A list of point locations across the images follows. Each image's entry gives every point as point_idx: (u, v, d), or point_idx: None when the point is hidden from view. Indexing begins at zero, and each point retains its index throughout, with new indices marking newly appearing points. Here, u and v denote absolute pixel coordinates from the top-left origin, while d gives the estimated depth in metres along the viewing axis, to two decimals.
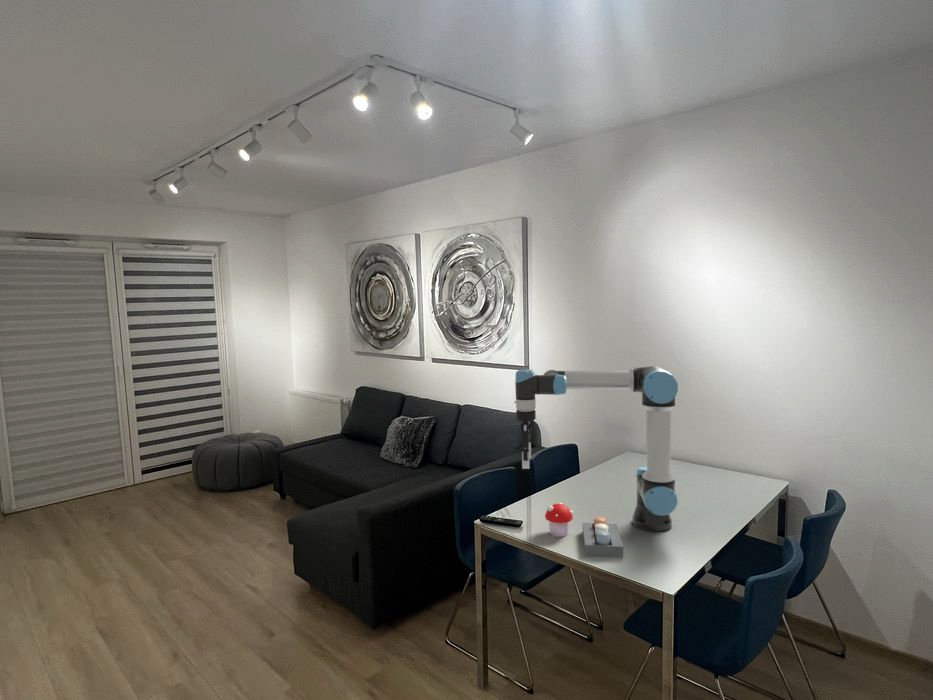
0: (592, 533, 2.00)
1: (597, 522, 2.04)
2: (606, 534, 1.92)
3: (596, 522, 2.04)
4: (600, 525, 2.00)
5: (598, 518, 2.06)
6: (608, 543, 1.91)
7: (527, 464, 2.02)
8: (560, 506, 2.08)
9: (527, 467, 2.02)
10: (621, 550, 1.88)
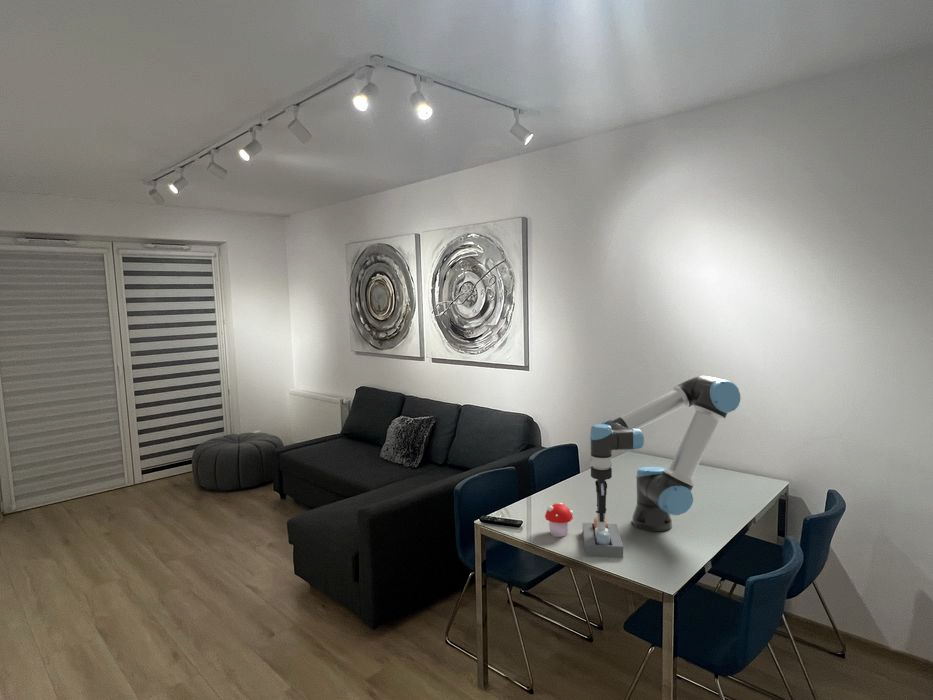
0: (592, 533, 2.00)
1: None
2: (606, 534, 1.92)
3: (596, 522, 2.04)
4: None
5: None
6: (608, 543, 1.91)
7: (603, 525, 1.98)
8: (560, 506, 2.08)
9: (603, 528, 1.98)
10: (621, 550, 1.88)
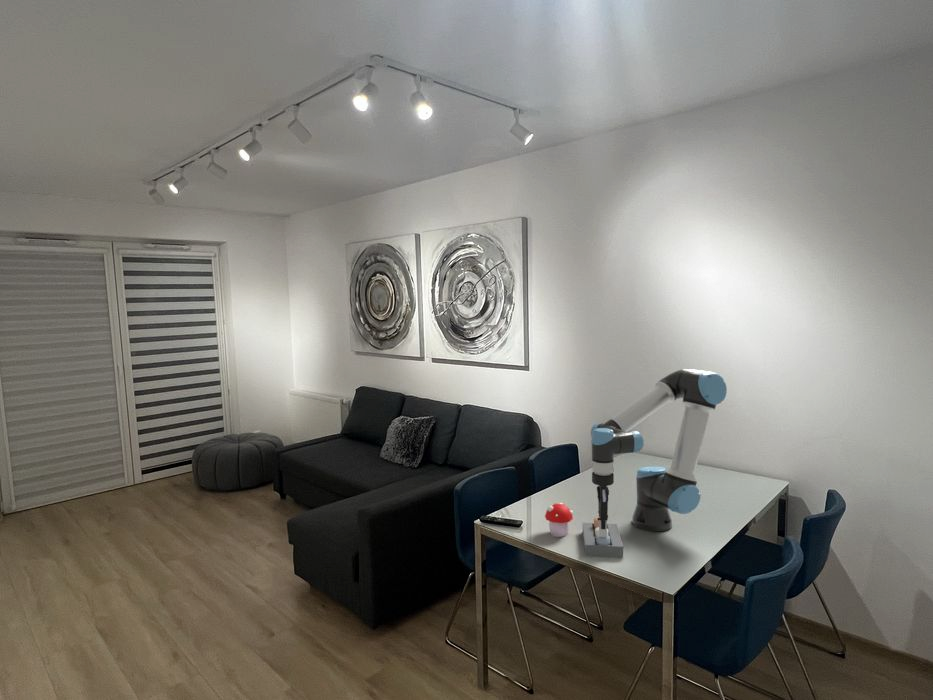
0: (592, 533, 2.00)
1: (597, 522, 2.04)
2: (606, 538, 1.92)
3: (596, 522, 2.04)
4: None
5: None
6: None
7: (605, 532, 1.92)
8: (560, 506, 2.08)
9: (604, 536, 1.92)
10: (621, 550, 1.88)
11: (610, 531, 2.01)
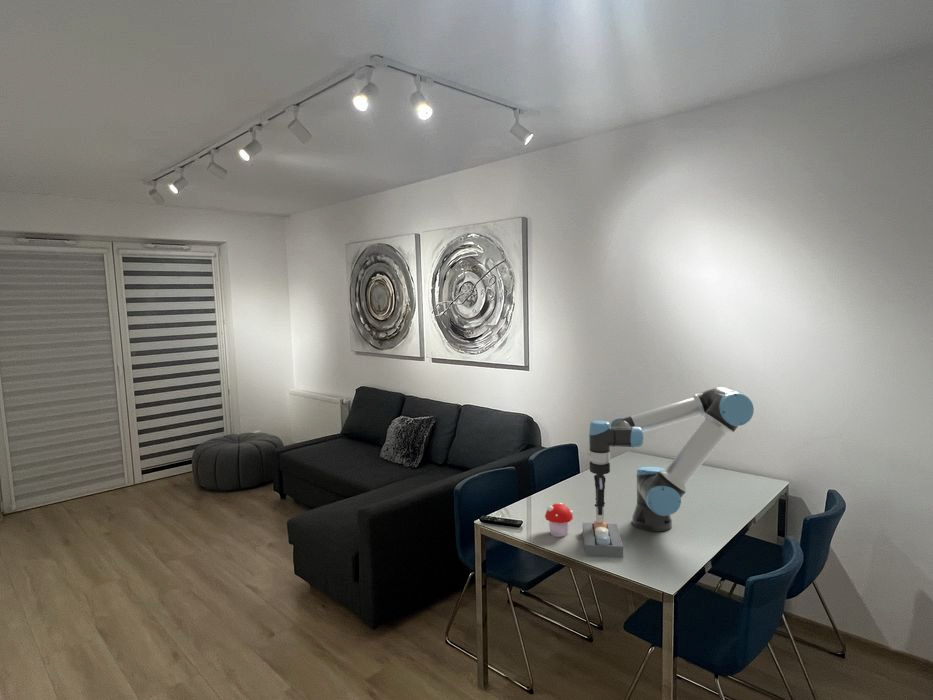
0: (592, 533, 2.00)
1: (597, 525, 2.04)
2: (606, 538, 1.92)
3: (596, 525, 2.04)
4: (600, 529, 2.00)
5: None
6: None
7: (601, 518, 2.04)
8: (560, 506, 2.08)
9: (601, 521, 2.05)
10: (621, 550, 1.88)
11: (610, 531, 2.01)
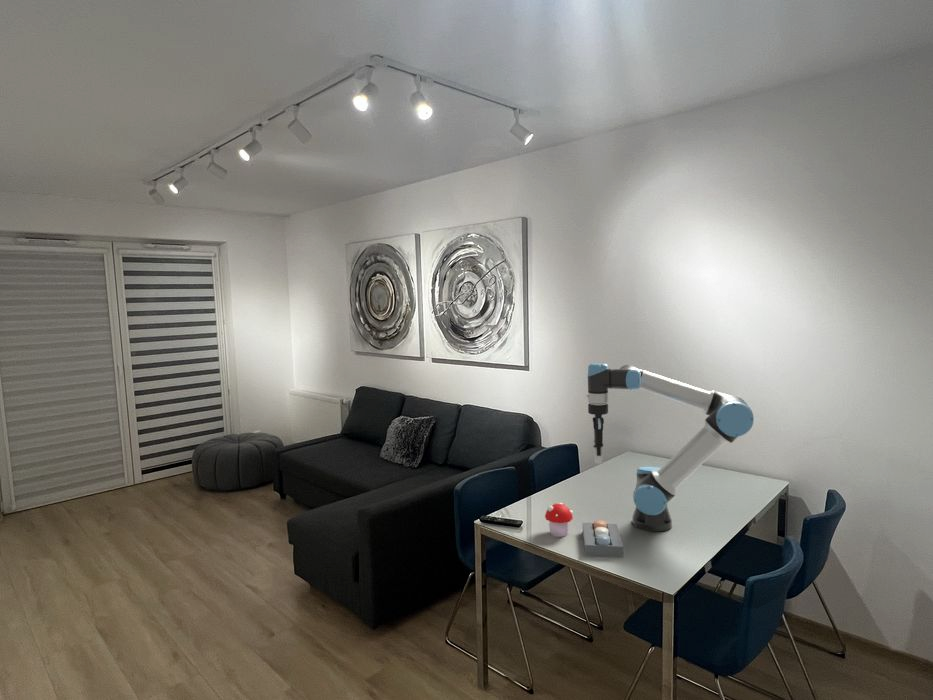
0: (592, 533, 2.00)
1: (597, 526, 2.04)
2: (606, 538, 1.92)
3: (596, 525, 2.04)
4: (600, 529, 2.00)
5: (598, 521, 2.06)
6: None
7: (600, 459, 2.08)
8: (560, 506, 2.08)
9: (600, 462, 2.08)
10: (621, 550, 1.88)
11: (610, 531, 2.01)
